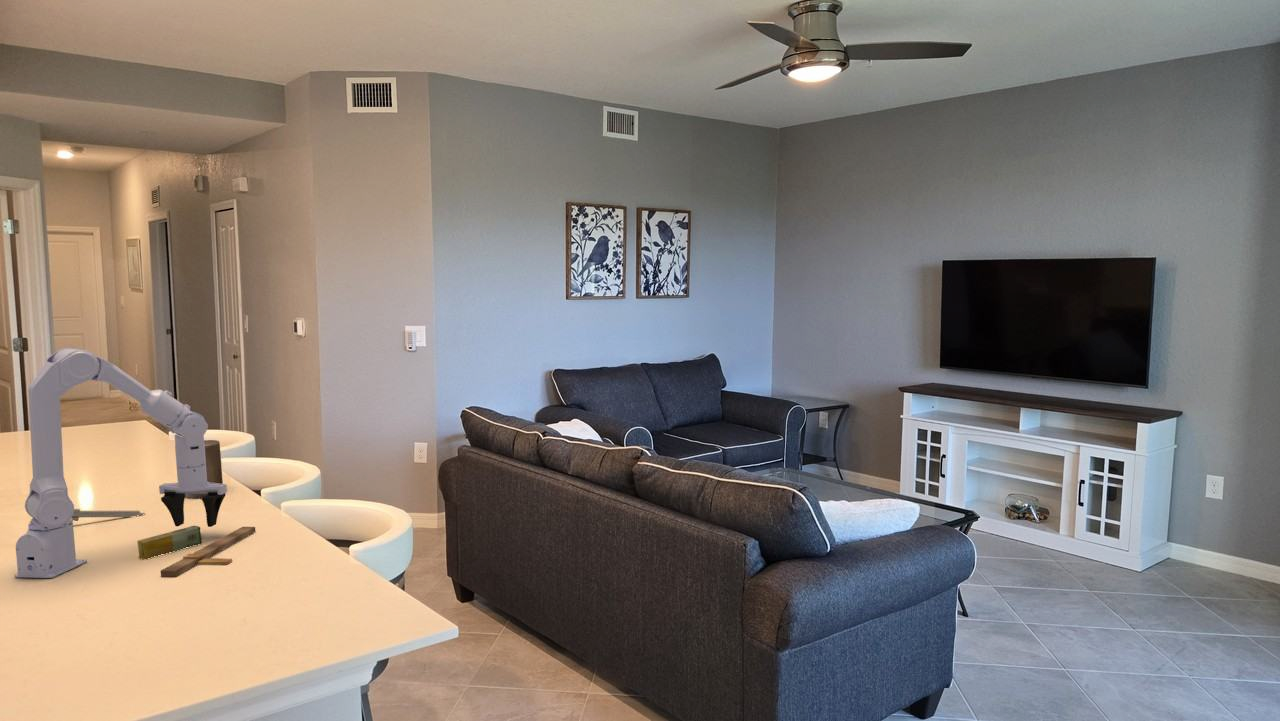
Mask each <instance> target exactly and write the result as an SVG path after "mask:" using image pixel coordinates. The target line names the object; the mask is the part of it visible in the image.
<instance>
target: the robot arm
mask: <svg viewBox="0 0 1280 721" xmlns="http://www.w3.org/2000/svg"><path fill="white" fill-rule="evenodd" d="M90 380H93V381H96V382H103V383H105V382H106V383H107V384H109V385H110V386H112V387H114V388H115V389H116V390H119V391H121V393H123V394H125V395H126V396H129V398H132V399H134V400H136V401H137V402H139V407H140V410H141V412H142V413H144V414H145V415H147V416H148V417H151V418H152V419H153V420H155V421H157V422H158V423H159V424H161V425H163V426H164V427H166V428H169V431H170V432H171V433H172V434H174V445H175V446H174V450H175V461H176V463H175V464H176V465H175V466H176V476H177V482H172V483H171V482H170V483H168V482H167V483H163V484H159V485H158V489H159V495H163V496H161V497H160V500H161V502H162V503H163V505H164V506H165V507H166V509H167V510H168V512H169V514H170V516H171V519H172V521H173V524H174V525H175V527H180V526H182V525H184V523H185V513H184V512H185V511H184V510H185V509H184V508H185V505H184V504H185V499H186V498H185V493H195V494H208V495H206V496H204V497H202V498H201V501H202V504H203V507H204V510H205V515H206V517H205V518H206V525H207V527H208V528H211V527H213V526H215V525H217V521H218V516H219V511H220V508H221V506H222V503H223V501H224V499H225V497H226V493H228V487H227V483H223V484H219V483H212V482H207V472H206V457H205V444H204V440H205V438H204V435H205V434H206V432H207V431H208V428H209V424H208V423H207V420H205V416H203V415H202V414H201V413H197V412H194V411H191V405H189V404H186V403H184V404H183V403H182V402H180V401H179V400H177V399H176V398H174V397H173V393H172V392H170V391H169V390H166V389H165V390H162V389H152V390H150V389H149V388H147V387H146V386H145V385H144V384H142V383H141V382H140V381H138V380H136V379H135V378H134V377H132V376H131V375H129V374H128V373H126V372H125V371H124V370H122V369H121V368H119V367H118V366H117V365H115V364H114V363H111V362H110V361H108V360H106V359H104V358H102V357H100V356H96V355H95V354H94V353H92V352H91V351H89V350H86V349H77V348H74V347H64V348H61V349H59V350H56V351H55V352H54V353H52V354H51V355H50V356H48V357H46V358H45V360H44V363H43V365H42V366H41V368H40V370H39V371H38V373H37V374H36V375H35V377H34V379H33V380H32V381H31V383H30V385H29V386H28V392H27V393H28V406H29V407H28V408H29V410H28V411H29V426H30V427H29V428H30V444H31V445H30V446H31V447H30V449H31V467H32V479H31V481H30V483H29V494H28V496H27V498H26V500H25V503H24V508H25V512H26V513H27V515H29V517H31V520H30V521H29V524H28V526H27V527H28V528H27V531H26V533H25V534H23V535H21V536H20V537H19V538H18V539H17V541H16V543H15V555H16V556H15V558H16V567H17V573H15V574H13V575H14V576H13V577H14V578H36V579H40V578H42V579H53V578H54V577H57V576H59V575H61V574H63V573H65V572H68V571H70V570H72V569H74V568H77V567H78V566H80V565H83V564H85V563H88V559H86V558H77V556H76V541H75V533H74V532H75V531H74V520H73V519H72V516H73V513H74V509H75V506H74V502H73V501H72V500H71V498H70V497H69V493H68V490H69V489H68V486H67V483H66V480H65V477H64V476H65V475H64V474H65V473H64V456H63V437H62V434H63V433H62V417H61V414H62V413H61V398H62V396H64V395H65V394H67V393H68V392H69V391H70V390H71V389H72V388H74V387H75V386H78V385H81V384H83V383H86V382H88V381H90Z"/></svg>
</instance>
